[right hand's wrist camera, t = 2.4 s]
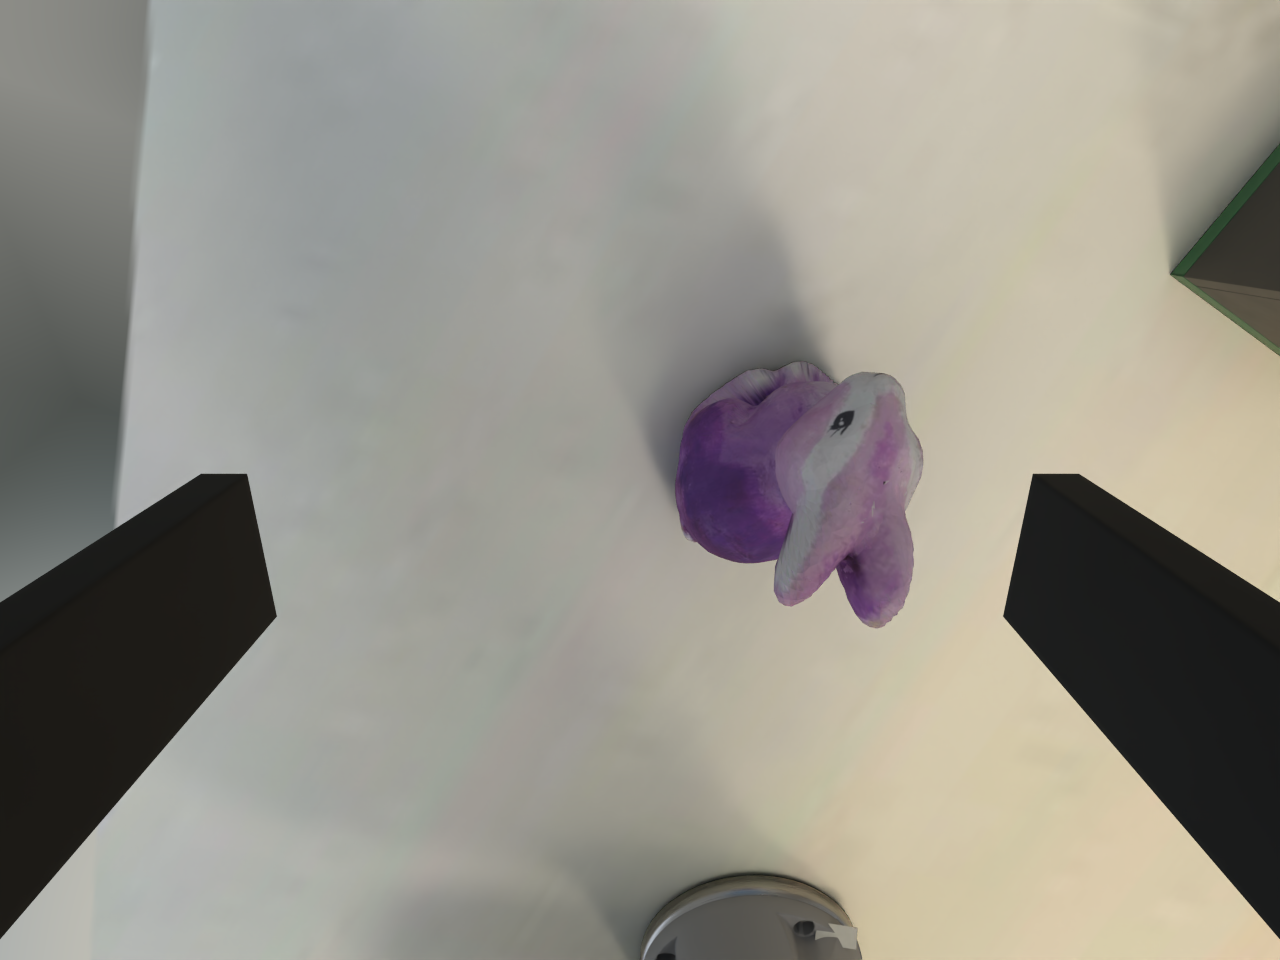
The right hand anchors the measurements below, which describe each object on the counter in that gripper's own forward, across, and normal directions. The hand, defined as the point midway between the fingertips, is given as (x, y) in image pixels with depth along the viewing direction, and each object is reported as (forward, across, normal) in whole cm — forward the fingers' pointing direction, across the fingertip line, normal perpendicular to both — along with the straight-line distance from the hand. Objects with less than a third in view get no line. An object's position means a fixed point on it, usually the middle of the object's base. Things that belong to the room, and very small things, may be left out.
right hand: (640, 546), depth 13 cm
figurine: (+25, -6, +6) cm, 26 cm away
